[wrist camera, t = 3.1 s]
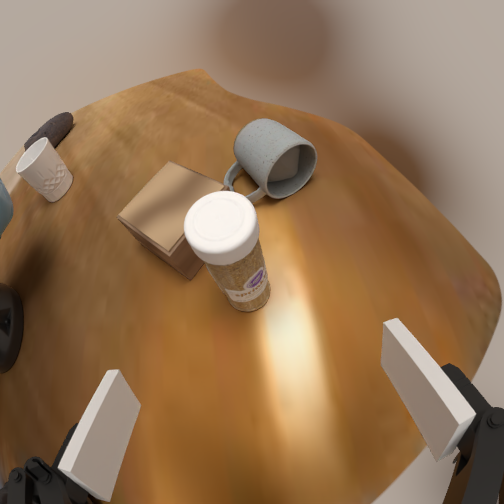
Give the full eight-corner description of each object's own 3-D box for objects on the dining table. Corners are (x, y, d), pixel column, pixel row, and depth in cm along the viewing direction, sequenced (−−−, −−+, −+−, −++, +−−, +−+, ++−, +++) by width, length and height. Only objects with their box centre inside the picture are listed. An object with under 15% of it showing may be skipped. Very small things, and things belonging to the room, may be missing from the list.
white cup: (40, 204, 41) (10, 173, 32) (60, 172, 44) (34, 139, 35) (61, 206, 39) (27, 171, 30) (82, 171, 42) (54, 134, 33)
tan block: (140, 243, 33) (115, 215, 27) (185, 191, 35) (169, 159, 30) (190, 280, 30) (168, 255, 24) (238, 219, 32) (228, 185, 27)
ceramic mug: (277, 146, 37) (273, 103, 30) (317, 179, 34) (320, 133, 27) (214, 184, 36) (197, 141, 29) (249, 224, 32) (236, 181, 25)
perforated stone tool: (73, 122, 53) (61, 103, 47) (81, 124, 52) (69, 103, 46) (33, 164, 49) (18, 147, 42) (39, 168, 47) (23, 150, 41)
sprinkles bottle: (258, 320, 27) (231, 264, 15) (218, 300, 28) (167, 235, 16) (278, 280, 28) (269, 200, 16) (240, 263, 30) (207, 180, 18)
